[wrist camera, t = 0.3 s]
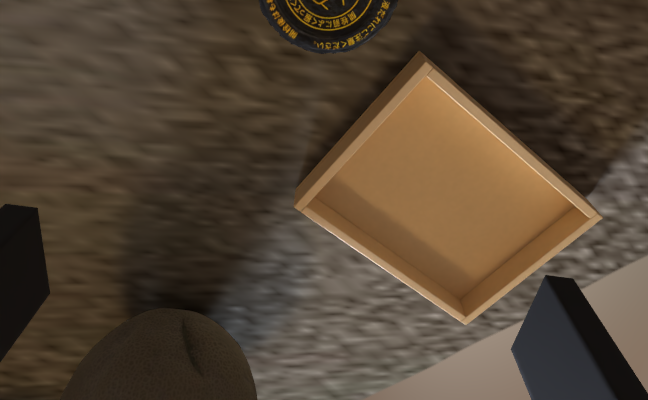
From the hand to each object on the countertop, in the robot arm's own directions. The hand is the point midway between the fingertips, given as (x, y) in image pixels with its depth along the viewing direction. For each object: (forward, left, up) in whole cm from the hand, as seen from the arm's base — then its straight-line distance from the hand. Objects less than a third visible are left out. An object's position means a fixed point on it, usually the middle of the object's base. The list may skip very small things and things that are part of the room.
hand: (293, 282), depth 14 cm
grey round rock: (+24, -7, -21) cm, 33 cm away
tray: (+7, +10, -20) cm, 24 cm away
